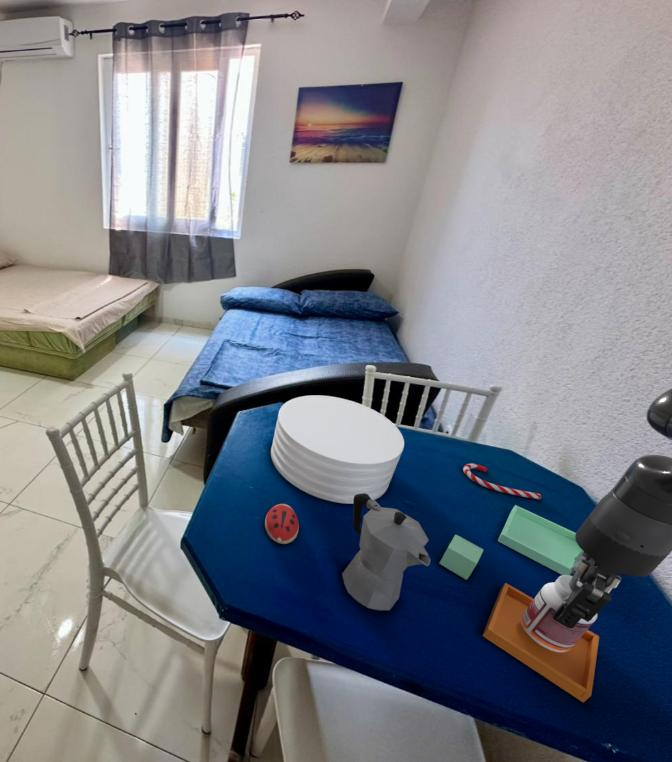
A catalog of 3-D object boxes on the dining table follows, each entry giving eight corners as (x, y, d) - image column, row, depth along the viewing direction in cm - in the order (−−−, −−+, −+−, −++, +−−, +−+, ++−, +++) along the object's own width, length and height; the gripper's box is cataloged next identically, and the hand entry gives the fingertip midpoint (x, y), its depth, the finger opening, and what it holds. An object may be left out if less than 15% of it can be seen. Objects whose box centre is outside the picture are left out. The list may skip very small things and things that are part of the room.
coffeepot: (420, 615, 68) (461, 541, 59) (373, 630, 66) (410, 555, 57) (357, 541, 81) (384, 472, 72) (316, 551, 79) (339, 481, 70)
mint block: (473, 565, 77) (483, 549, 75) (466, 580, 74) (477, 563, 72) (446, 550, 80) (455, 534, 78) (438, 563, 77) (447, 547, 75)
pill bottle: (580, 651, 62) (622, 607, 57) (545, 656, 61) (584, 612, 56) (541, 611, 67) (576, 568, 62) (509, 616, 66) (541, 572, 61)
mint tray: (584, 546, 82) (590, 539, 81) (577, 583, 74) (583, 575, 73) (510, 511, 90) (515, 504, 89) (497, 541, 82) (502, 534, 81)
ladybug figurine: (298, 514, 87) (301, 502, 85) (297, 551, 78) (300, 539, 77) (266, 506, 88) (269, 494, 87) (262, 542, 80) (264, 529, 78)
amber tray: (592, 643, 65) (599, 636, 64) (583, 703, 58) (591, 695, 57) (500, 590, 73) (505, 582, 72) (482, 636, 65) (487, 628, 64)
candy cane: (543, 503, 90) (463, 475, 98) (540, 507, 91) (461, 479, 98) (540, 484, 96) (464, 459, 103) (537, 488, 97) (462, 463, 104)
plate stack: (282, 420, 119) (289, 385, 113) (388, 448, 108) (402, 412, 103) (259, 478, 96) (266, 439, 91) (389, 521, 86) (407, 480, 80)
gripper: (673, 582, 46) (593, 662, 54) (671, 519, 55) (603, 596, 63) (585, 541, 51) (524, 620, 59) (596, 488, 60) (541, 563, 68)
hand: (565, 607), depth 61 cm, fingers closed on pill bottle, 6 cm apart
